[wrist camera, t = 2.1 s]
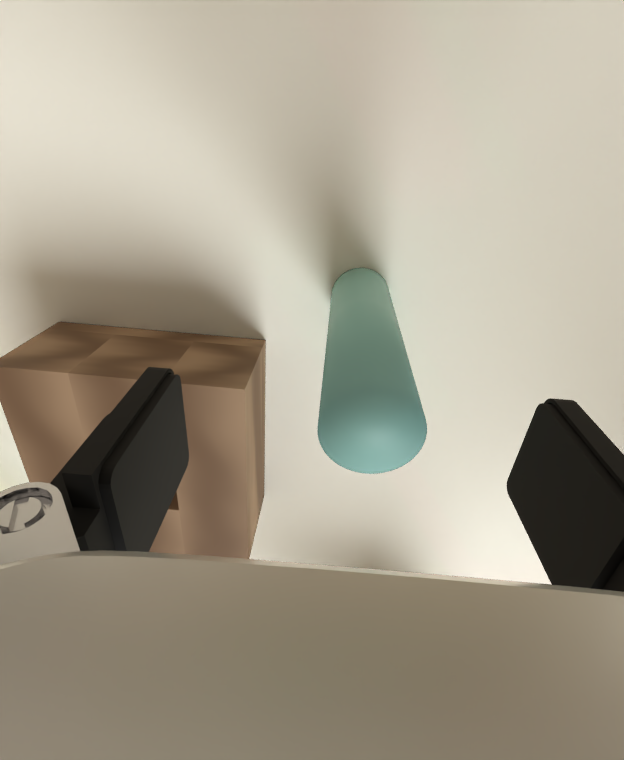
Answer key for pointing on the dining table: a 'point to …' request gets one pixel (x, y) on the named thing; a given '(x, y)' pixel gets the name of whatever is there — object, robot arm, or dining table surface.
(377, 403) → the peg
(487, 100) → the dining table surface
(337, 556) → the dining table surface
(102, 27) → the dining table surface
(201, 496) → the socket block
